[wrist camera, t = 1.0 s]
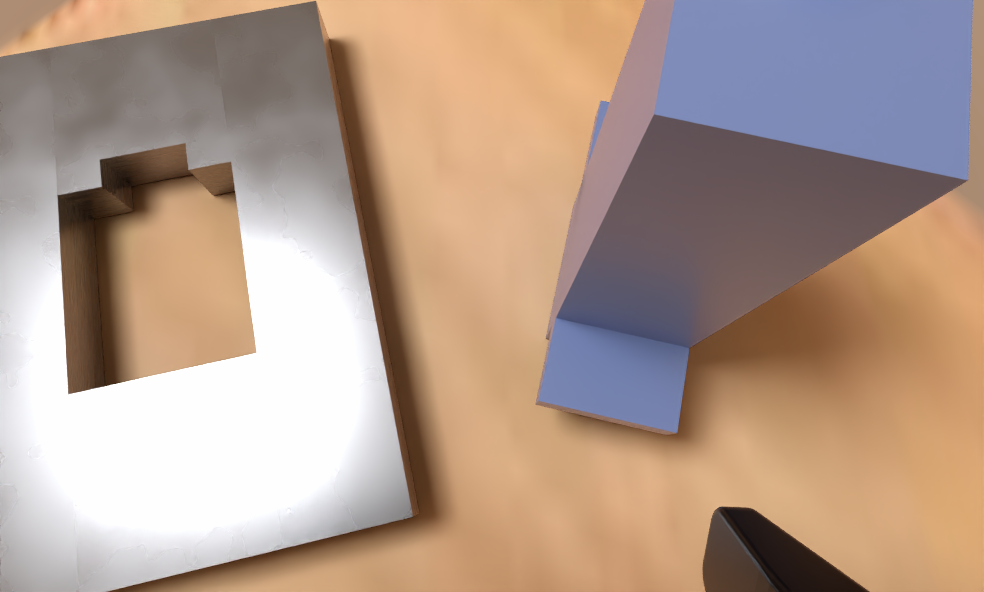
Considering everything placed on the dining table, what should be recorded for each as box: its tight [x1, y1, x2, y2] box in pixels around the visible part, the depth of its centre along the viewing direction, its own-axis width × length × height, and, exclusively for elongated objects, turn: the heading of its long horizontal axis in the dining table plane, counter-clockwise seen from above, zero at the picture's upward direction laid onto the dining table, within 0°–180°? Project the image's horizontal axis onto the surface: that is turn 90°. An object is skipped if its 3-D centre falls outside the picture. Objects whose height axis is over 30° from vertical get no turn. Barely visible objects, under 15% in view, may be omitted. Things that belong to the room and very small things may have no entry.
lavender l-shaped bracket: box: [536, 0, 973, 435], centre depth 15 cm, size 10×4×15 cm, turn 167°
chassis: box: [0, 1, 419, 592], centre depth 21 cm, size 18×13×2 cm
